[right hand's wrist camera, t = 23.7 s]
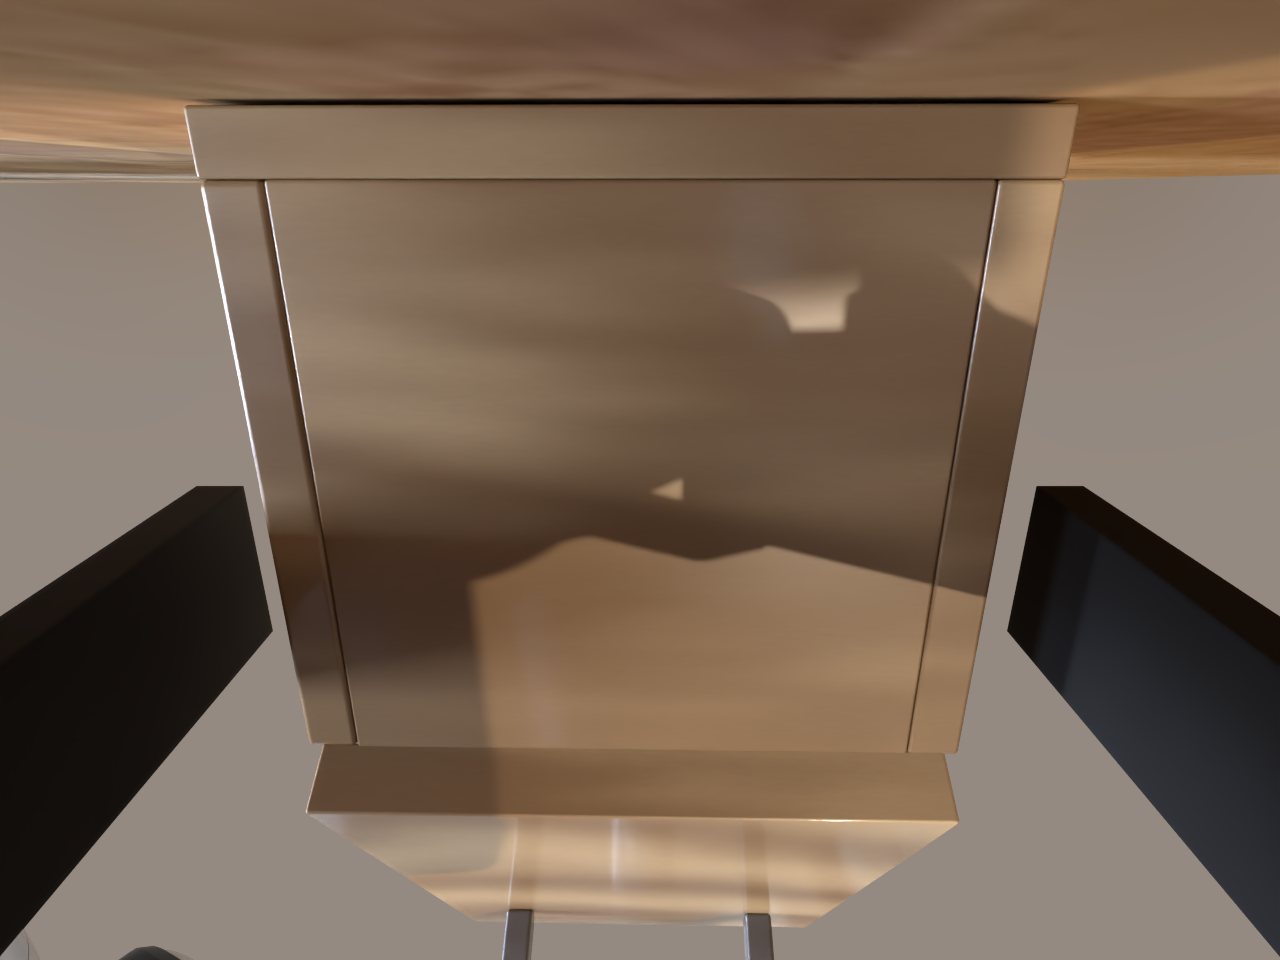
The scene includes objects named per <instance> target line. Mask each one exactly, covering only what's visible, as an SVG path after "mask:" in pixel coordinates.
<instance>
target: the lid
mask: <svg viewBox="0 0 1280 960" xmlns="http://www.w3.org/2000/svg"><path fill="white" fill-rule="evenodd" d="M306 813H307V814H308V815H310V816H311V817H313V818H314V819H316V820H318V821H319V822H321V823H322V824H324V825H326V826H327V827H329V828H330V829H332V830H333V831H335V832H336V833H338V834H340V835H341V836H343V837H344V838H346V839H347V840H349V841H350V842H352V843H354V844H355V845H357V846H358V847H360V848H361V849H363V850H364V851H366V852H368V853H369V854H371V855H372V856H374V857H375V858H377V859H379V860H380V861H382V862H383V863H385V864H386V865H388V866H389V867H391V868H393V869H394V870H396V871H397V872H399V873H400V874H402V875H404V876H405V877H407V878H408V879H410V880H411V881H413V882H415V883H416V884H418V885H419V886H421V887H422V888H424V889H425V890H427V891H429V892H430V893H432V894H433V895H435V896H436V897H438V898H440V899H441V900H443V901H444V902H446V903H447V904H449V905H451V906H452V907H454V908H455V909H457V910H458V911H460V912H461V913H463V914H465V915H466V916H468V917H469V918H471V919H472V920H474V921H485V922H506V925H505V934H504V944H503V953H502V960H531V952H532V940H533V929H534V922H542V923H599V924H655V925H712V926H744V944H745V960H774V952H773V939H772V927H806V926H808V925H809V924H811V923H812V922H814V921H815V920H817V919H818V918H820V917H821V916H823V915H824V914H826V913H827V912H829V911H830V910H831V909H833V908H834V907H836V906H837V905H839V904H840V903H842V902H843V901H845V900H846V899H848V898H849V897H851V896H852V895H854V894H855V893H857V892H858V891H859V890H861V889H862V888H864V887H865V886H867V885H868V884H870V883H871V882H873V881H874V880H876V879H877V878H878V877H880V876H882V875H883V874H884V873H886V872H887V871H889V870H890V869H892V868H893V867H895V866H896V865H898V864H899V863H901V862H902V861H904V860H905V859H907V858H908V857H910V856H911V855H912V854H914V853H915V852H917V851H918V850H920V849H921V848H923V847H924V846H926V845H927V844H929V843H930V842H932V841H933V840H935V839H936V838H937V837H939V836H940V835H942V834H943V833H945V832H946V831H948V830H949V829H951V828H952V827H954V826H955V825H957V824H958V823H959V818H958V814H957V809H956V805H955V800H954V795H953V791H952V786H951V782H950V777H949V773H948V768H947V763H946V759H945V754H941V753H909V752H908V751H906V753H840V752H766V751H691V750H617V749H543V748H469V747H394V746H359V745H358V744H352V745H337V744H324V745H323V748H322V752H321V755H320V759H319V763H318V767H317V771H316V774H315V778H314V782H313V786H312V790H311V793H310V797H309V801H308V805H307V809H306Z"/></svg>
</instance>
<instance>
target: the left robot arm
mask: <svg viewBox="0 0 1280 960" xmlns="http://www.w3.org/2000/svg"><path fill="white" fill-rule="evenodd" d="M0 960H40V958H39V956H38V954H37V951H36V949H35V947H34V945H33V943H32V942H31V940H30V938H29V937H28V935H27V933H26V932H25V930H24V929H23V930H22V931H21V932H20V933H19V935H18V936H17V937H16V938H15V939H14V941H13V942H12V943H11V944H10V945H9V947H8V948H7V949H6V950H5V951H4V953H3V954H2V955H1V956H0ZM119 960H192V959H191V958H189V957H187V956H185V955H183V954H180V953H178V952H174V951H169V950H164V949H161V948H159V947H155V946H150V947H141V948H136V949H134V950H133V951H131V952H129V953H128V954H126V955H125V956H124V957H122V958H121V959H119Z"/></svg>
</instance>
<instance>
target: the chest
mask: <svg viewBox="0 0 1280 960" xmlns="http://www.w3.org/2000/svg"><path fill="white" fill-rule="evenodd" d="M184 113H185V118H186V123H187V128H188V133H189V138H190V144H191V149H192V154H193V159H194V164H195V169H196V174H197V176H198V178H200V179H205V180H206V181H204V182H202V183H201V191H202V196H203V201H204V207H205V212H206V217H207V222H208V227H209V232H210V237H211V242H212V247H213V253H214V258H215V263H216V267H217V273H218V278H219V283H220V288H221V293H222V298H223V304H224V309H225V314H226V319H227V324H228V329H229V334H230V339H231V344H232V350H233V355H234V360H235V365H236V370H237V375H238V380H239V385H240V390H241V395H242V401H243V406H244V411H245V416H246V421H247V426H248V431H249V436H250V441H251V447H252V452H253V457H254V462H255V467H256V472H257V477H258V482H259V487H260V492H261V498H262V502H263V508H264V513H265V518H266V523H267V528H268V533H269V538H270V544H271V549H272V554H273V559H274V564H275V569H276V574H277V579H278V584H279V589H280V595H281V600H282V605H283V610H284V615H285V620H286V625H287V630H288V635H289V641H290V646H291V650H292V656H293V661H294V666H295V671H296V676H297V681H298V686H299V691H300V697H301V702H302V707H303V712H304V717H305V722H306V727H307V732H308V737H309V741H310V743H312V744H337V745H352V744H355V743H357V742H358V745H359V746H394V747H469V748H543V749H617V750H691V751H766V752H840V753H906V751H908V752H909V753H941V754H954V753H957V751H958V746H959V740H960V735H961V730H962V725H963V719H964V714H965V709H966V703H967V698H968V693H969V687H970V682H971V676H972V672H973V666H974V661H975V655H976V650H977V645H978V640H979V635H980V629H981V624H982V619H983V613H984V608H985V603H986V598H987V592H988V587H989V582H990V576H991V571H992V566H993V561H994V555H995V550H996V544H997V539H998V534H999V529H1000V524H1001V518H1002V513H1003V508H1004V502H1005V497H1006V492H1007V487H1008V481H1009V476H1010V471H1011V465H1012V460H1013V455H1014V449H1015V444H1016V439H1017V434H1018V428H1019V423H1020V418H1021V412H1022V407H1023V402H1024V397H1025V391H1026V386H1027V381H1028V375H1029V370H1030V365H1031V360H1032V354H1033V349H1034V343H1035V338H1036V333H1037V328H1038V322H1039V317H1040V312H1041V307H1042V301H1043V296H1044V291H1045V286H1046V280H1047V275H1048V269H1049V264H1050V259H1051V254H1052V249H1053V243H1054V238H1055V232H1056V227H1057V222H1058V217H1059V211H1060V206H1061V201H1062V196H1063V190H1064V181H1062V180H1060V179H1063V178H1065V177H1066V175H1067V171H1068V166H1069V161H1070V156H1071V150H1072V145H1073V140H1074V134H1075V129H1076V124H1077V119H1078V113H1079V105H1078V104H1076V103H1022V104H547V105H188V106H186V107H184Z"/></svg>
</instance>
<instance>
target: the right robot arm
mask: <svg viewBox="0 0 1280 960" xmlns="http://www.w3.org/2000/svg"><path fill="white" fill-rule="evenodd" d="M272 631H273V630H272V625H271V620H270V615H269V610H268V605H267V600H266V595H265V590H264V585H263V581H262V576H261V571H260V566H259V561H258V556H257V551H256V546H255V541H254V536H253V531H252V526H251V521H250V516H249V512H248V507H247V502H246V497H245V492H244V487H243V486H196V487H195V488H193V489H192V490H190V491H189V492H187V493H186V494H184V495H183V496H181V497H180V498H178V499H177V500H175V501H174V502H172V503H171V504H169V505H168V506H166V507H165V508H163V509H162V510H160V511H159V512H157V513H155V514H154V515H152V516H151V517H149V518H148V519H146V520H145V521H143V522H142V523H140V524H139V525H137V526H136V527H134V528H133V529H131V530H130V531H128V532H127V533H125V534H124V535H122V536H121V537H119V538H118V539H116V540H115V541H113V542H112V543H110V544H109V545H107V546H106V547H104V548H103V549H101V550H100V551H98V552H97V553H95V554H94V555H92V556H91V557H89V558H88V559H86V560H85V561H83V562H82V563H80V564H79V565H77V566H76V567H74V568H73V569H71V570H70V571H68V572H67V573H65V574H63V575H62V576H60V577H59V578H57V579H56V580H54V581H53V582H51V583H50V584H48V585H47V586H45V587H44V588H42V589H41V590H39V591H38V592H36V593H35V594H33V595H32V596H30V597H29V598H27V599H26V600H24V601H23V602H21V603H20V604H18V605H17V606H15V607H14V608H12V609H11V610H9V611H8V612H6V613H5V614H3V615H2V616H0V956H1V955H2V954H3V953H4V951H5V950H6V949H7V948H8V947H9V945H10V944H11V943H12V942H13V941H14V939H15V938H16V937H17V936H18V935H19V933H20V932H21V931H22V930H23V929H24V928H25V926H26V925H27V924H28V923H29V921H30V920H31V919H32V918H33V917H34V916H35V914H36V913H37V912H38V911H39V910H40V908H41V907H42V906H43V905H44V904H45V902H46V901H47V900H48V899H49V898H50V896H51V895H52V894H53V893H54V892H55V890H56V889H57V888H58V887H59V886H60V884H61V883H62V882H63V881H64V880H65V879H66V877H67V876H68V875H69V874H70V873H71V871H72V870H73V869H74V868H75V867H76V865H77V864H78V863H79V862H80V861H81V859H82V858H83V857H84V856H85V855H86V853H87V852H88V851H89V850H90V849H91V847H92V846H93V845H94V844H95V843H96V841H97V840H98V839H99V838H100V837H101V836H102V834H103V833H104V832H105V831H106V830H107V828H108V827H109V826H110V825H111V823H112V822H113V821H114V820H115V819H116V818H117V816H118V815H119V814H120V813H121V812H122V810H123V809H124V808H125V807H126V806H127V804H128V803H129V802H130V801H131V800H132V798H133V797H134V796H135V795H136V794H137V793H138V791H139V790H140V789H141V788H142V787H143V785H144V784H145V783H146V782H147V781H148V779H149V778H150V777H151V776H152V774H153V773H154V772H155V771H156V770H157V769H158V767H159V766H160V765H161V764H162V763H163V761H164V760H165V759H166V758H167V757H168V756H169V754H170V753H171V752H172V751H173V750H174V748H175V747H176V746H177V745H178V744H179V742H180V741H181V740H182V739H183V738H184V736H185V735H186V734H187V733H188V732H189V730H190V729H191V728H192V727H193V726H194V724H195V723H196V722H197V721H198V720H199V718H200V717H201V716H202V715H203V714H204V712H205V711H206V710H207V709H208V708H209V706H210V705H211V704H212V703H213V702H214V701H215V699H216V698H217V697H218V696H219V695H220V693H221V692H222V691H223V690H224V689H225V687H226V686H227V685H228V684H229V683H230V681H231V680H232V679H233V678H234V677H235V675H236V674H237V673H238V672H239V671H240V669H241V668H242V667H243V666H244V665H245V663H246V662H247V661H248V660H249V659H250V658H251V656H252V655H253V654H254V653H255V652H256V650H257V649H258V648H259V647H260V646H261V644H262V643H263V642H264V641H265V640H266V638H267V637H268V636H269V635H270V634H271V632H272ZM1007 631H1008V632H1009V634H1010V635H1011V636H1012V637H1013V638H1014V640H1015V641H1016V642H1017V643H1018V644H1019V646H1020V647H1021V648H1022V649H1023V650H1024V652H1025V653H1026V654H1027V655H1028V656H1029V658H1030V659H1031V660H1032V661H1033V662H1034V664H1035V665H1036V666H1037V667H1038V668H1039V669H1040V671H1041V672H1042V673H1043V674H1044V675H1045V677H1046V678H1047V679H1048V680H1049V681H1050V683H1051V684H1052V685H1053V686H1054V687H1055V689H1056V690H1057V691H1058V692H1059V693H1060V695H1061V696H1062V697H1063V698H1064V699H1065V700H1066V702H1067V703H1068V704H1069V705H1070V707H1071V708H1072V709H1073V710H1074V711H1075V712H1076V714H1077V715H1078V716H1079V717H1080V718H1081V720H1082V721H1083V722H1084V723H1085V724H1086V726H1087V727H1088V728H1089V729H1090V730H1091V732H1092V733H1093V734H1094V735H1095V736H1096V738H1097V739H1098V740H1099V741H1100V742H1101V744H1102V745H1103V746H1104V747H1105V748H1106V750H1107V751H1108V752H1109V753H1110V754H1111V755H1112V757H1113V758H1114V759H1115V760H1116V761H1117V763H1118V764H1119V765H1120V766H1121V767H1122V769H1123V770H1124V771H1125V772H1126V773H1127V775H1128V776H1129V777H1130V778H1131V779H1132V781H1133V782H1134V783H1135V784H1136V785H1137V787H1138V788H1139V789H1140V790H1141V791H1142V792H1143V794H1144V795H1145V796H1146V797H1147V799H1148V800H1149V801H1150V802H1151V803H1152V804H1153V806H1154V807H1155V808H1156V809H1157V810H1158V812H1159V813H1160V814H1161V815H1162V816H1163V818H1164V819H1165V820H1166V821H1167V822H1168V824H1169V825H1170V826H1171V827H1172V828H1173V829H1174V831H1175V832H1176V833H1177V834H1178V836H1179V837H1180V838H1181V839H1182V840H1183V842H1184V843H1185V844H1186V845H1187V846H1188V847H1189V849H1190V850H1191V851H1192V852H1193V853H1194V855H1195V856H1196V857H1197V858H1198V859H1199V861H1200V862H1201V863H1202V864H1203V865H1204V867H1205V868H1206V869H1207V870H1208V871H1209V873H1210V874H1211V875H1212V876H1213V877H1214V879H1215V880H1216V881H1217V882H1218V883H1219V885H1220V886H1221V887H1222V888H1223V889H1224V890H1225V892H1226V893H1227V894H1228V895H1229V896H1230V898H1231V899H1232V900H1233V901H1234V902H1235V904H1236V905H1237V906H1238V907H1239V908H1240V910H1241V911H1242V912H1243V913H1244V914H1245V916H1246V917H1247V918H1248V919H1249V920H1250V921H1251V923H1252V924H1253V925H1254V926H1255V928H1256V929H1257V930H1258V931H1259V932H1260V933H1261V935H1262V936H1263V937H1264V938H1265V939H1266V941H1267V942H1268V943H1269V944H1270V945H1271V947H1272V948H1273V949H1274V950H1275V951H1276V953H1277V954H1278V955H1279V956H1280V616H1278V615H1277V614H1275V613H1274V612H1272V611H1271V610H1269V609H1268V608H1266V607H1265V606H1263V605H1262V604H1260V603H1259V602H1257V601H1256V600H1254V599H1253V598H1251V597H1250V596H1248V595H1247V594H1245V593H1244V592H1242V591H1241V590H1239V589H1238V588H1236V587H1235V586H1233V585H1232V584H1230V583H1229V582H1227V581H1226V580H1224V579H1222V578H1221V577H1220V576H1218V575H1216V574H1215V573H1214V572H1212V571H1210V570H1209V569H1207V568H1206V567H1204V566H1203V565H1201V564H1200V563H1198V562H1197V561H1195V560H1194V559H1192V558H1191V557H1189V556H1188V555H1186V554H1185V553H1183V552H1182V551H1180V550H1179V549H1177V548H1176V547H1174V546H1173V545H1171V544H1170V543H1168V542H1167V541H1165V540H1164V539H1162V538H1161V537H1159V536H1158V535H1156V534H1155V533H1153V532H1152V531H1150V530H1149V529H1147V528H1146V527H1144V526H1143V525H1141V524H1140V523H1138V522H1137V521H1135V520H1134V519H1132V518H1131V517H1129V516H1128V515H1126V514H1125V513H1123V512H1121V511H1120V510H1118V509H1117V508H1115V507H1114V506H1112V505H1111V504H1109V503H1108V502H1106V501H1105V500H1103V499H1102V498H1100V497H1099V496H1097V495H1096V494H1094V493H1093V492H1091V491H1090V490H1088V489H1087V488H1085V487H1084V486H1037V487H1036V492H1035V497H1034V502H1033V507H1032V511H1031V516H1030V521H1029V526H1028V531H1027V536H1026V541H1025V546H1024V551H1023V556H1022V561H1021V566H1020V571H1019V575H1018V580H1017V585H1016V590H1015V595H1014V600H1013V605H1012V610H1011V615H1010V620H1009V625H1008V630H1007Z"/></svg>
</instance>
